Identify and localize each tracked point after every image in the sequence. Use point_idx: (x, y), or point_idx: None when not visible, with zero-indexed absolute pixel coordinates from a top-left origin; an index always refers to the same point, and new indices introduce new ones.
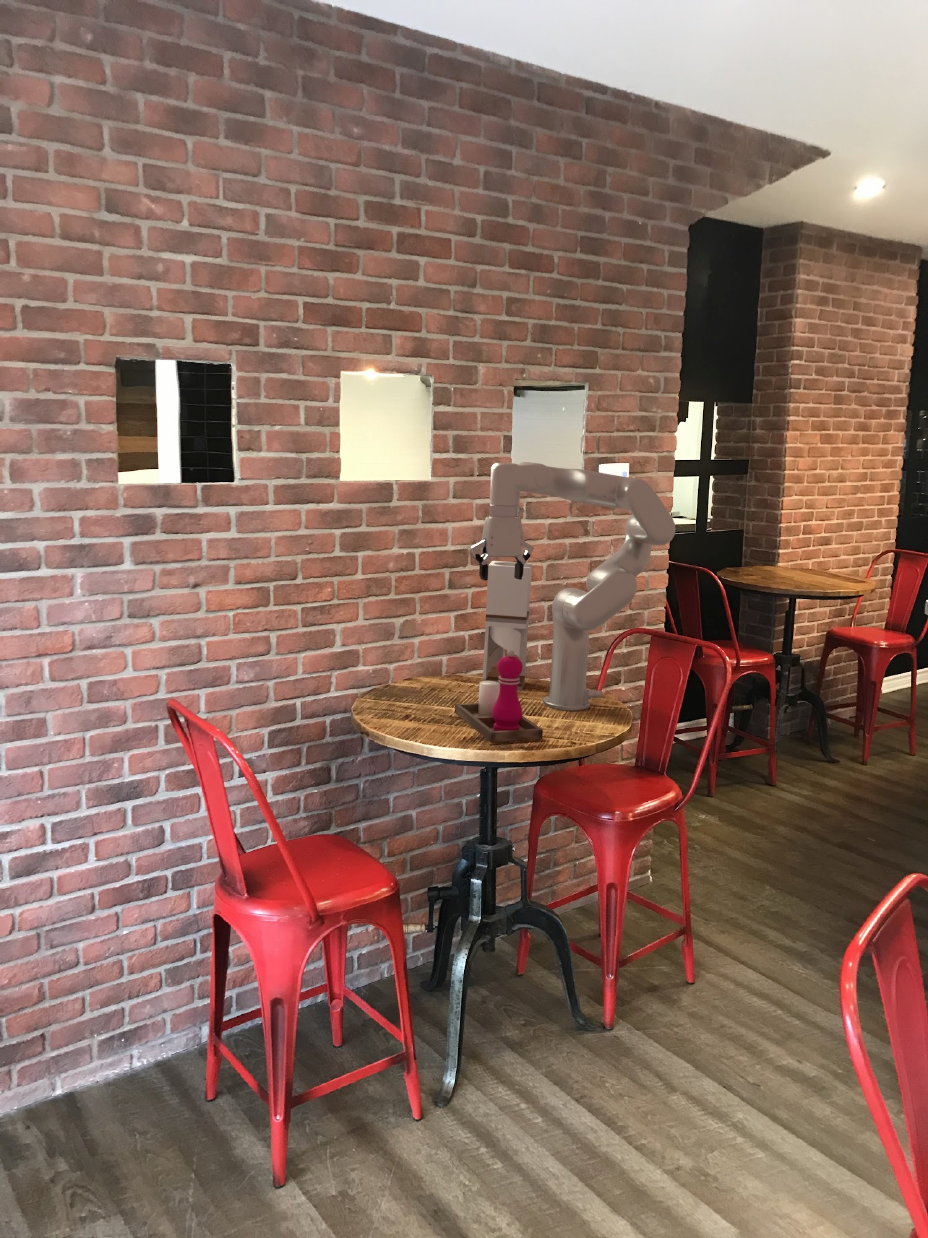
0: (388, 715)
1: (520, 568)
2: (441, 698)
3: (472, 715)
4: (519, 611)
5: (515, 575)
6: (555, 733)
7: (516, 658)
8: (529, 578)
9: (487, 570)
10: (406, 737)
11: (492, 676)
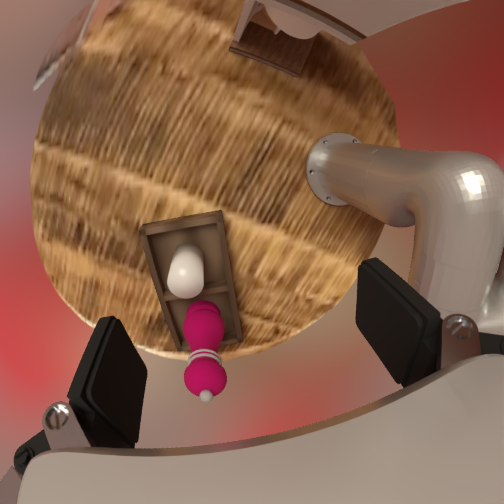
0: (58, 226)
1: (391, 366)
2: (136, 120)
3: (160, 289)
4: (357, 20)
5: (365, 288)
6: (269, 302)
7: (215, 394)
8: None
9: (136, 419)
10: (87, 313)
11: (258, 23)
